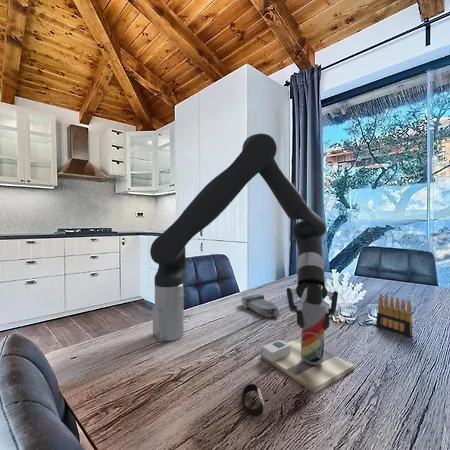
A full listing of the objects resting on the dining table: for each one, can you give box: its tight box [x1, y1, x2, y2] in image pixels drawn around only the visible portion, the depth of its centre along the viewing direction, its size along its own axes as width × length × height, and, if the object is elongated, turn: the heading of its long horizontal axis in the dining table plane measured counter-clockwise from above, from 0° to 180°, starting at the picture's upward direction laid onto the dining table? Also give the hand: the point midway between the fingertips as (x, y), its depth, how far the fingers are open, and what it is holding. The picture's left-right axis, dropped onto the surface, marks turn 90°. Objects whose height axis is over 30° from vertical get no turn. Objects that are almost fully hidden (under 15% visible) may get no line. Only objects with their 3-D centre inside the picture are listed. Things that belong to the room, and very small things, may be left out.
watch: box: [241, 383, 265, 418], centre depth 57 cm, size 8×5×4 cm, turn 5°
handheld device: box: [241, 293, 280, 318], centre depth 111 cm, size 10×20×5 cm, turn 30°
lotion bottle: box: [300, 284, 327, 365], centre depth 70 cm, size 6×6×20 cm
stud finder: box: [261, 339, 291, 362], centre depth 75 cm, size 7×4×3 cm, turn 124°
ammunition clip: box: [375, 293, 413, 338], centre depth 92 cm, size 11×2×12 cm, turn 36°
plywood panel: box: [260, 337, 355, 394], centre depth 73 cm, size 16×18×1 cm
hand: (312, 327), depth 69 cm, fingers closed on lotion bottle, 5 cm apart
